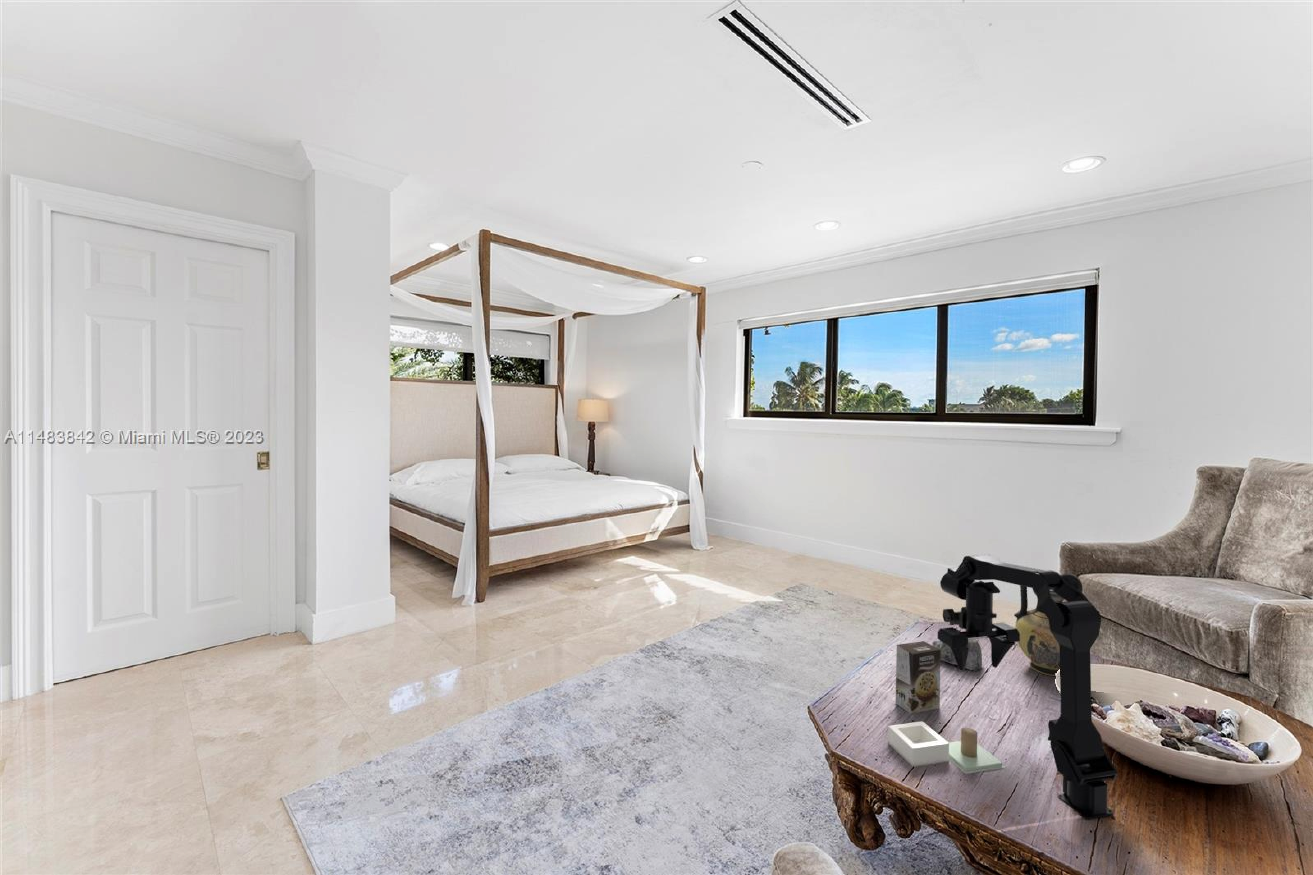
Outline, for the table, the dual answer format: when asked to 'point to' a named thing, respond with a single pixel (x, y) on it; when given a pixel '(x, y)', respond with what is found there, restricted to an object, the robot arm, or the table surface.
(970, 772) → the mat
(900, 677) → the coffee box
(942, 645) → the mineral rock
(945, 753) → the white open tray
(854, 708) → the table surface
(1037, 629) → the amphora
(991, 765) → the lid
